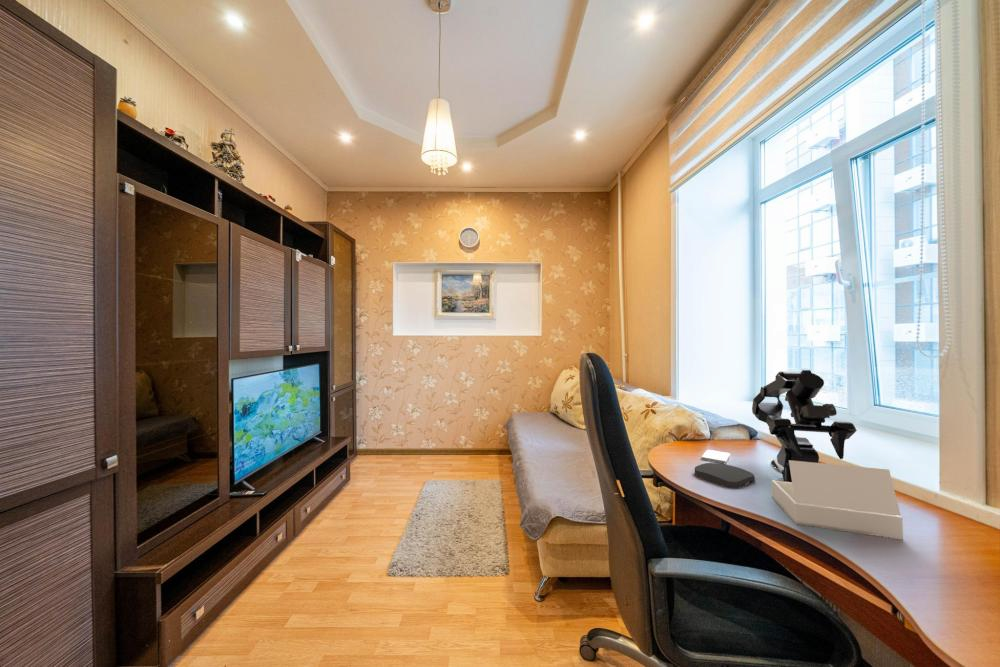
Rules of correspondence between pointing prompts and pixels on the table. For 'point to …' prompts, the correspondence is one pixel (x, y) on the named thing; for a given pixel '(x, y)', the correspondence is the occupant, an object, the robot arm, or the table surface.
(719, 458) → the external hard drive
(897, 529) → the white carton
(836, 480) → the box flap
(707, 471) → the media streaming box
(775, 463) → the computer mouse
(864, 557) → the table surface
